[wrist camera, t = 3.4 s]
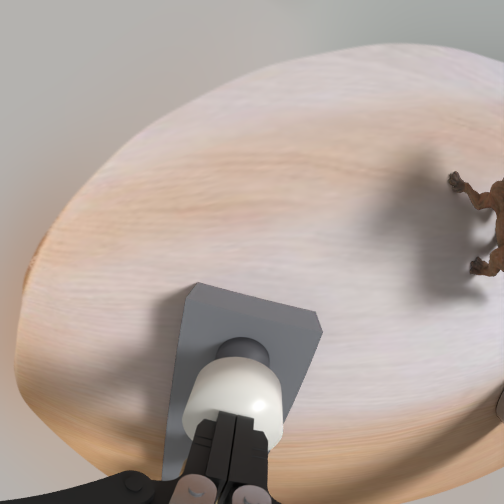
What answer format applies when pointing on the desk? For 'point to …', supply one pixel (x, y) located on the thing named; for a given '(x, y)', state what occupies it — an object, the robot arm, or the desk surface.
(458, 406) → the desk surface
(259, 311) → the control strip
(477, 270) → the dinosaur figurine
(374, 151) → the desk surface
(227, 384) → the cream knob
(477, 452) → the desk surface
